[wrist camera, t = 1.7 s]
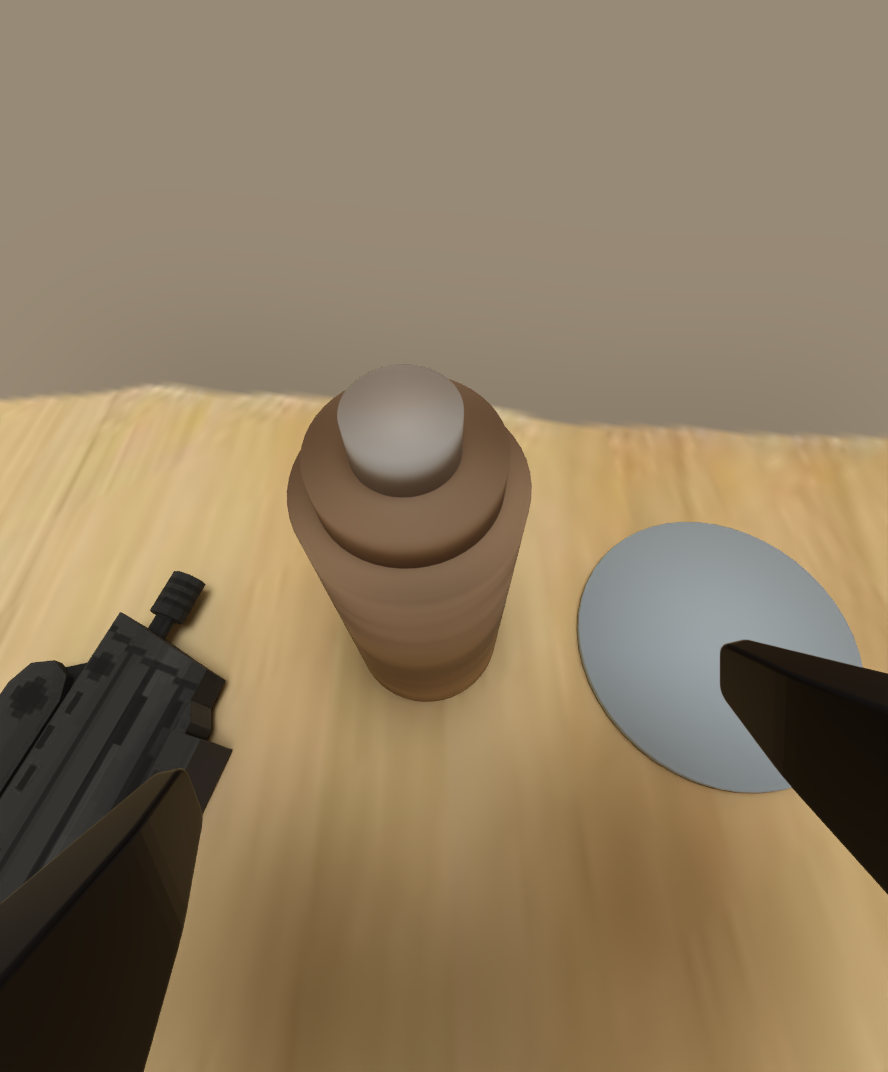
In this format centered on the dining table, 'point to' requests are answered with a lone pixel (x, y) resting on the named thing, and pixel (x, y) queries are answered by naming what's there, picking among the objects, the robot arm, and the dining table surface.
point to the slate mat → (697, 642)
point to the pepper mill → (413, 524)
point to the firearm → (101, 734)
